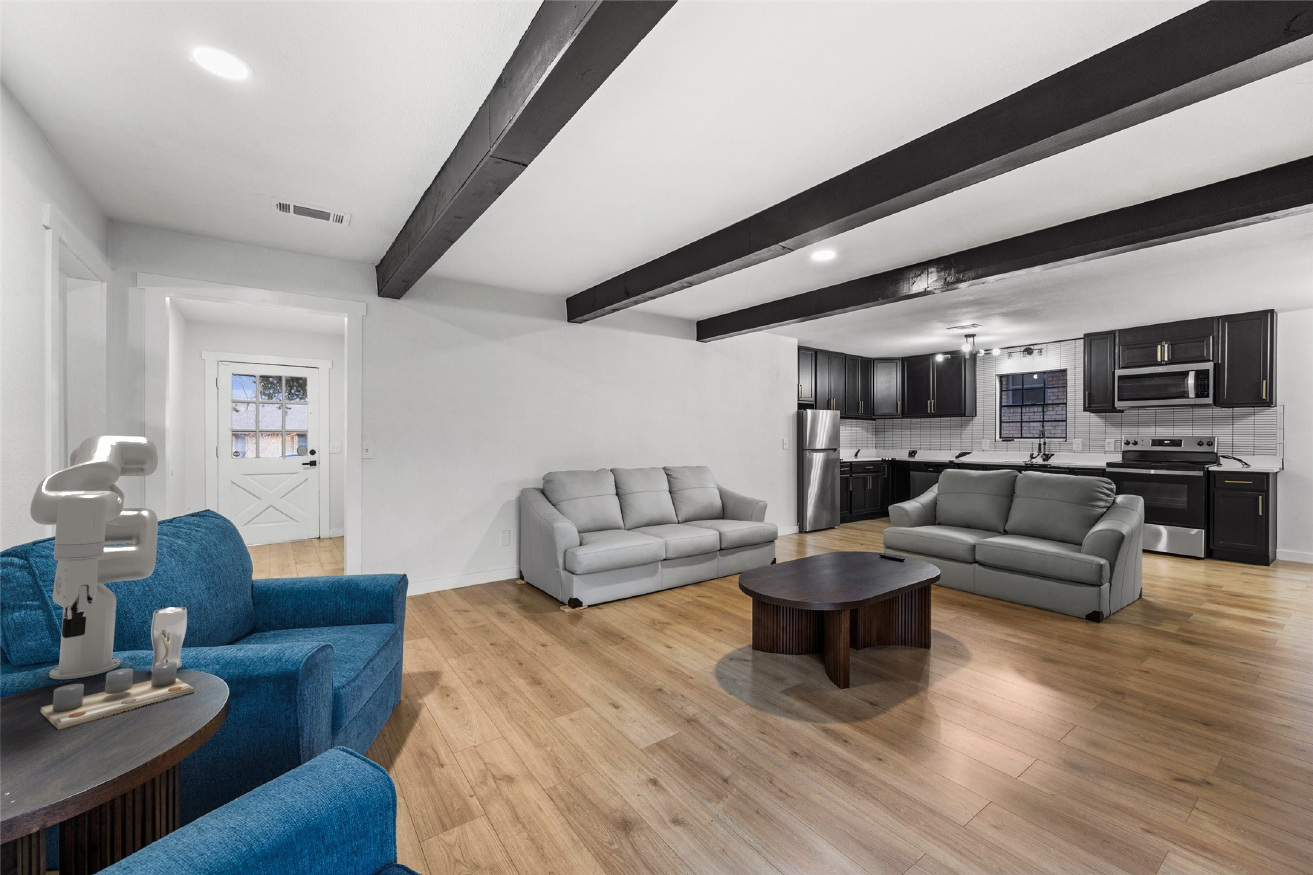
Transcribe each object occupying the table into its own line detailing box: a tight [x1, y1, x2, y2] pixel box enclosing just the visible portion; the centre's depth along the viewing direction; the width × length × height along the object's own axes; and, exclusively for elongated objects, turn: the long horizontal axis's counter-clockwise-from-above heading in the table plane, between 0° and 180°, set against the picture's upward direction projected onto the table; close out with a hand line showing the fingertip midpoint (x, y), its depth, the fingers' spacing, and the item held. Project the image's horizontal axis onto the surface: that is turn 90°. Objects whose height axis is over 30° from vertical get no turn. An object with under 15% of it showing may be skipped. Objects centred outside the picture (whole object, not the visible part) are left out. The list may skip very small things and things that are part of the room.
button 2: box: [151, 662, 178, 686], centre depth 131 cm, size 4×4×4 cm
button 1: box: [52, 683, 85, 711], centre depth 118 cm, size 4×4×4 cm
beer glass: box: [150, 606, 188, 673], centre depth 144 cm, size 7×7×15 cm
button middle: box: [104, 667, 134, 694], centre depth 124 cm, size 4×4×4 cm
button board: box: [40, 677, 195, 731], centre depth 123 cm, size 14×22×2 cm, turn 148°
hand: (73, 635), depth 119 cm, fingers closed
